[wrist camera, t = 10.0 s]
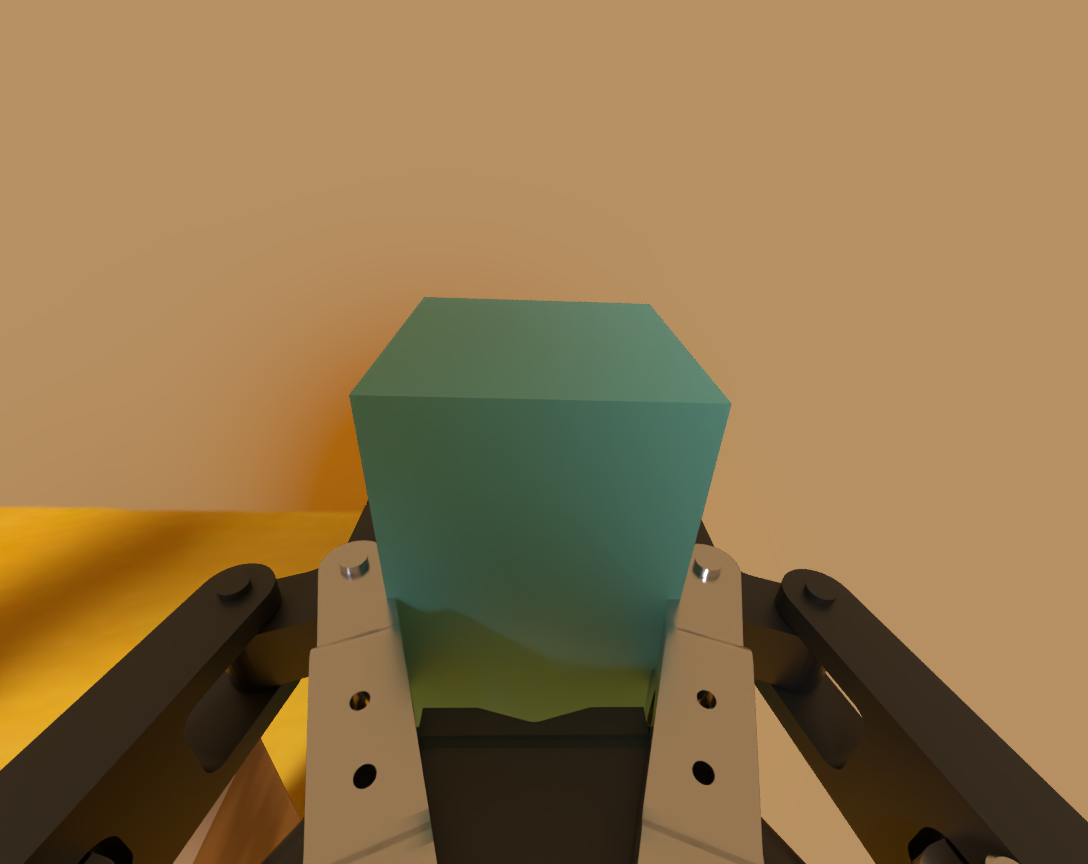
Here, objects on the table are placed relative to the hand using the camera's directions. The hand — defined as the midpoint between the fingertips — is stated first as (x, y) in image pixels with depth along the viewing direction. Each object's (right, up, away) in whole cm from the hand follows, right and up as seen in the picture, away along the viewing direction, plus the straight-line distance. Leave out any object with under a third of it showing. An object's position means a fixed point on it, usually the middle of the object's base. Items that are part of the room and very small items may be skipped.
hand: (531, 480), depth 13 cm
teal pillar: (0, -7, +1) cm, 7 cm away
